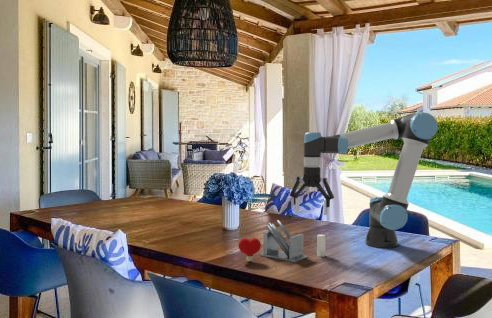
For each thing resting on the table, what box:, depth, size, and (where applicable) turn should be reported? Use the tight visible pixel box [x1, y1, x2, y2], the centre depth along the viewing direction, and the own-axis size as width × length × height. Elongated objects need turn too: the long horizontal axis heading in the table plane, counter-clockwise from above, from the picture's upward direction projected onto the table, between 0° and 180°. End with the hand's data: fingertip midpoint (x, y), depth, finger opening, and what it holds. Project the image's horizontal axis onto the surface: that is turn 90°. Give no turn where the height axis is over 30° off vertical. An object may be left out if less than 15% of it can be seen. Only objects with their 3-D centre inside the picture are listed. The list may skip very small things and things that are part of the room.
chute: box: [259, 219, 308, 263], centre depth 212 cm, size 18×10×15 cm, turn 53°
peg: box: [316, 234, 327, 258], centre depth 213 cm, size 4×4×9 cm
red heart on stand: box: [238, 237, 262, 263], centre depth 203 cm, size 9×7×10 cm
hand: (311, 213), depth 221 cm, fingers open, 13 cm apart
